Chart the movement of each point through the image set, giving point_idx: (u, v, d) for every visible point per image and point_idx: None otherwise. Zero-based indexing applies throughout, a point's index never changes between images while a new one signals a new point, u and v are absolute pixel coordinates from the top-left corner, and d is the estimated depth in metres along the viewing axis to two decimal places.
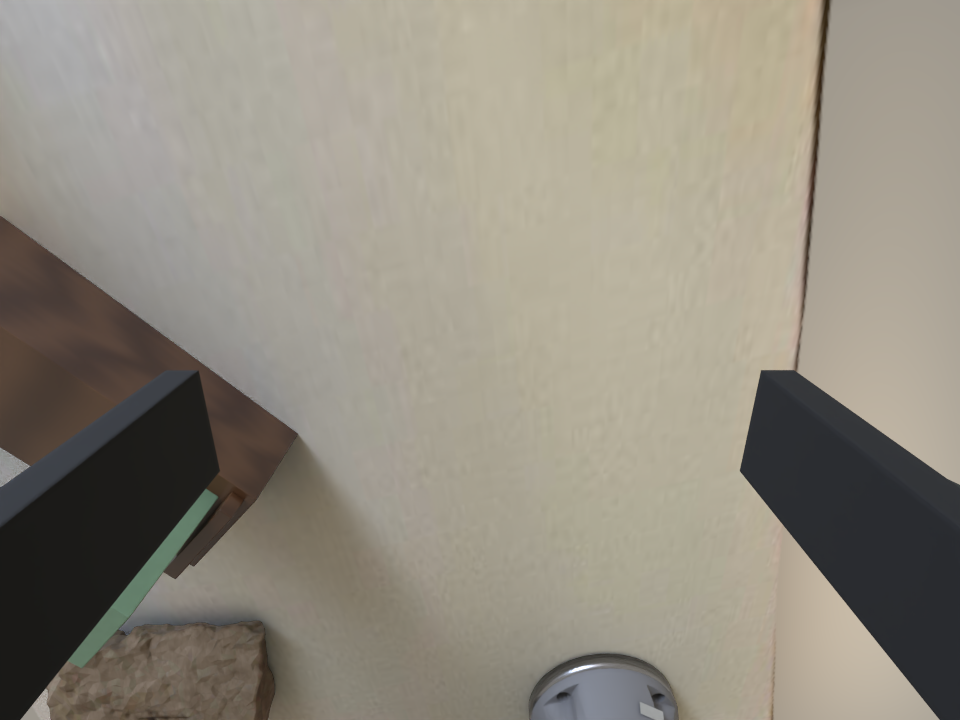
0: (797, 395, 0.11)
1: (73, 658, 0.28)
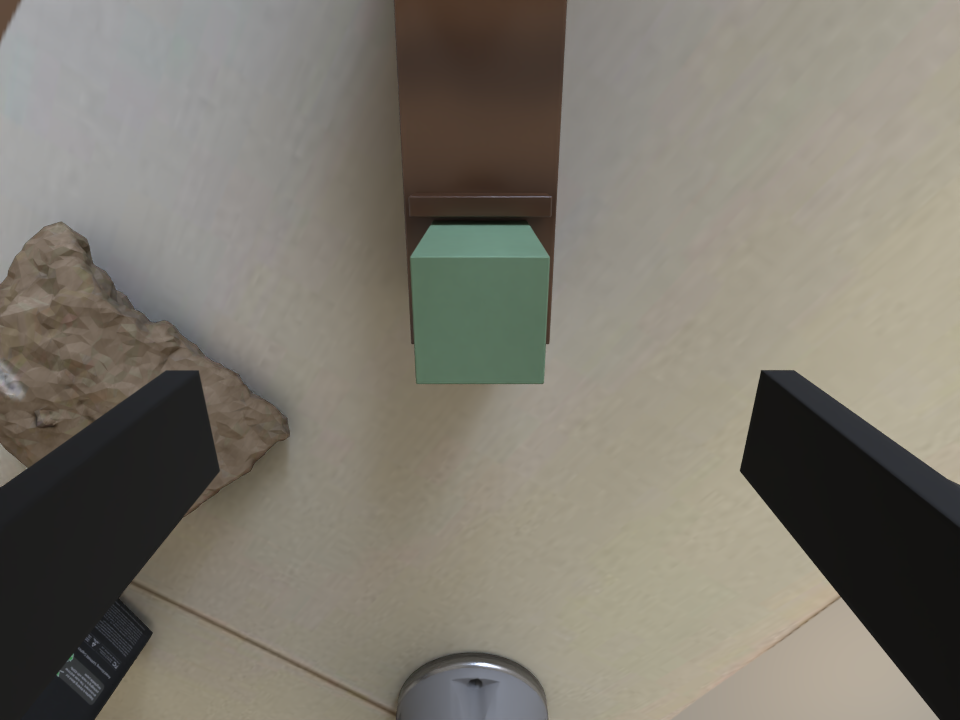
0: (797, 395, 0.11)
1: (426, 368, 0.21)
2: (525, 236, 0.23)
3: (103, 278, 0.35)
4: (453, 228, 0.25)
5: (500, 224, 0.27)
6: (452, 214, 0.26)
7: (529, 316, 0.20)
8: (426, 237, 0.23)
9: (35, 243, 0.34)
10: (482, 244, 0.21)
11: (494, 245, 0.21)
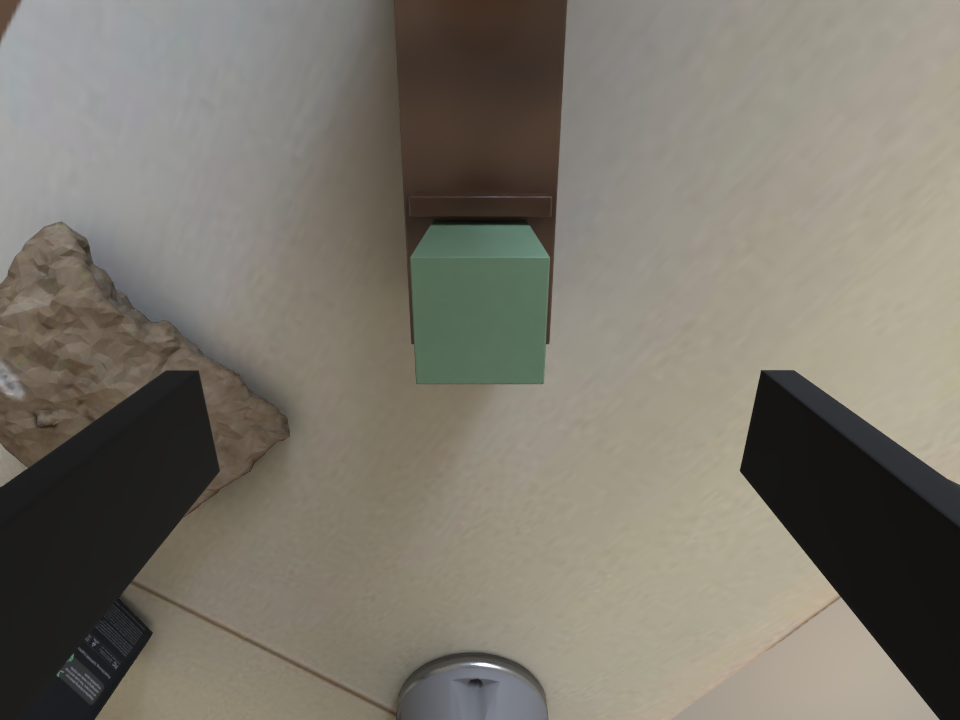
0: (797, 395, 0.11)
1: (426, 368, 0.21)
2: (525, 236, 0.23)
3: (103, 278, 0.35)
4: (453, 228, 0.25)
5: (500, 224, 0.27)
6: (452, 214, 0.26)
7: (529, 316, 0.20)
8: (426, 237, 0.23)
9: (35, 243, 0.34)
10: (482, 244, 0.21)
11: (494, 245, 0.21)
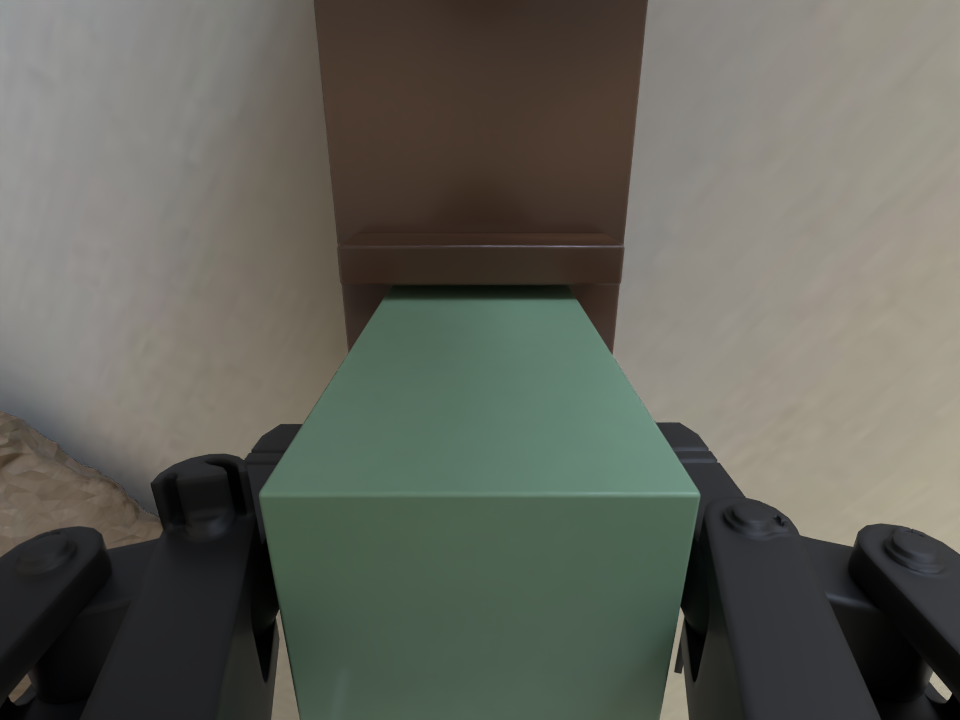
0: None
1: None
2: (583, 349, 0.10)
3: None
4: (425, 313, 0.12)
5: (519, 297, 0.14)
6: (425, 280, 0.13)
7: (623, 640, 0.07)
8: (356, 355, 0.10)
9: None
10: (486, 396, 0.08)
11: (517, 402, 0.08)
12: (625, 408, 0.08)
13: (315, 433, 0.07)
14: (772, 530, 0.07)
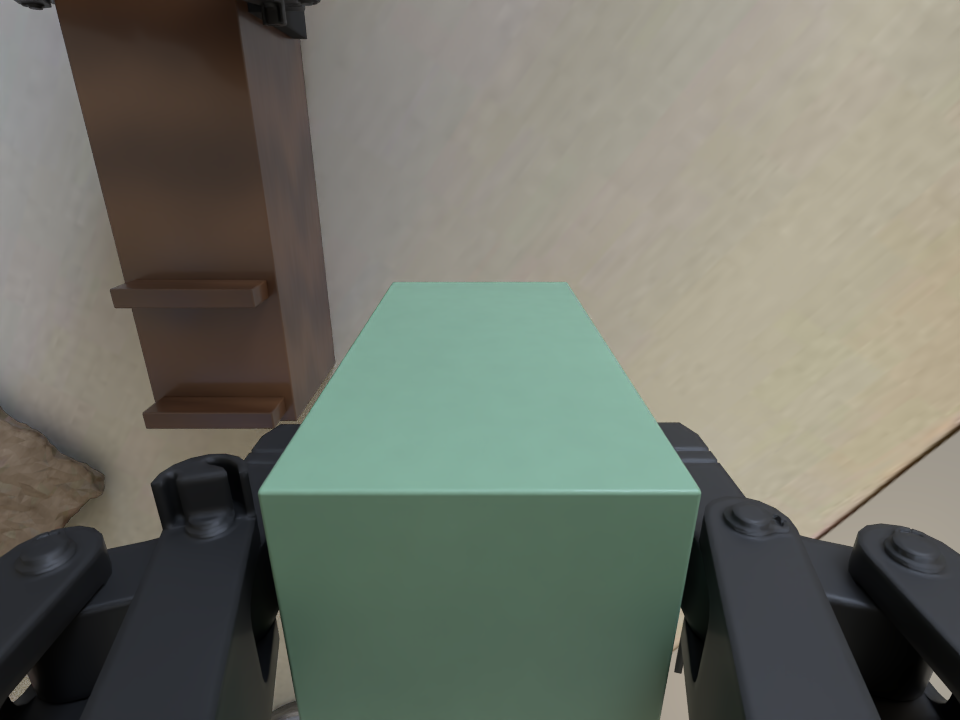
0: None
1: None
2: (583, 348, 0.10)
3: None
4: (425, 312, 0.12)
5: (519, 296, 0.14)
6: (156, 305, 0.26)
7: (624, 638, 0.07)
8: (355, 353, 0.10)
9: None
10: (486, 394, 0.08)
11: (517, 400, 0.08)
12: (626, 406, 0.08)
13: (315, 431, 0.07)
14: (772, 530, 0.07)
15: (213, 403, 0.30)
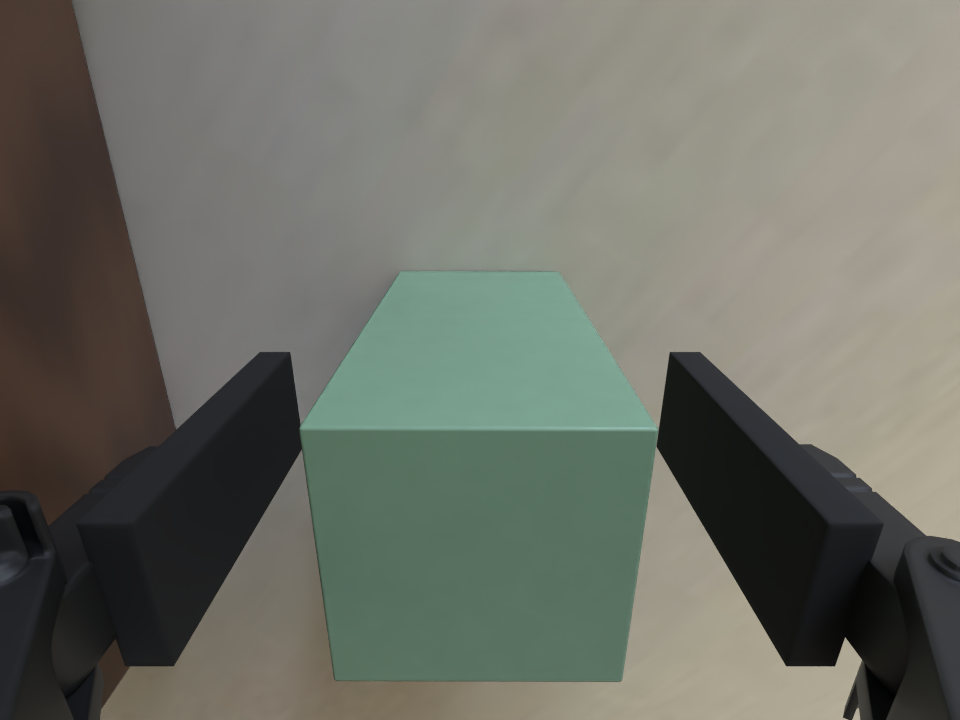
0: (692, 372, 0.12)
1: (354, 653, 0.09)
2: (570, 325, 0.12)
3: None
4: (430, 296, 0.14)
5: (516, 283, 0.15)
6: None
7: (597, 555, 0.08)
8: (370, 329, 0.11)
9: None
10: (484, 360, 0.10)
11: (511, 364, 0.09)
12: (603, 369, 0.09)
13: (341, 386, 0.09)
14: None
15: None
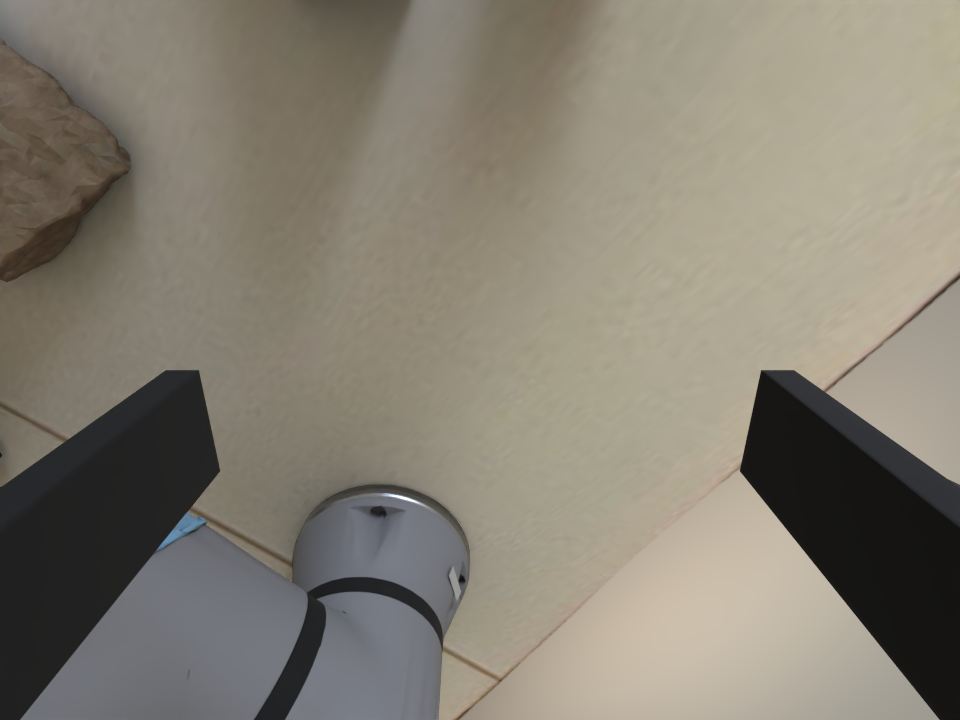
0: (797, 395, 0.11)
1: None
2: None
3: None
4: None
5: None
6: None
7: None
8: None
9: None
10: None
11: None
12: None
13: None
14: None
15: None
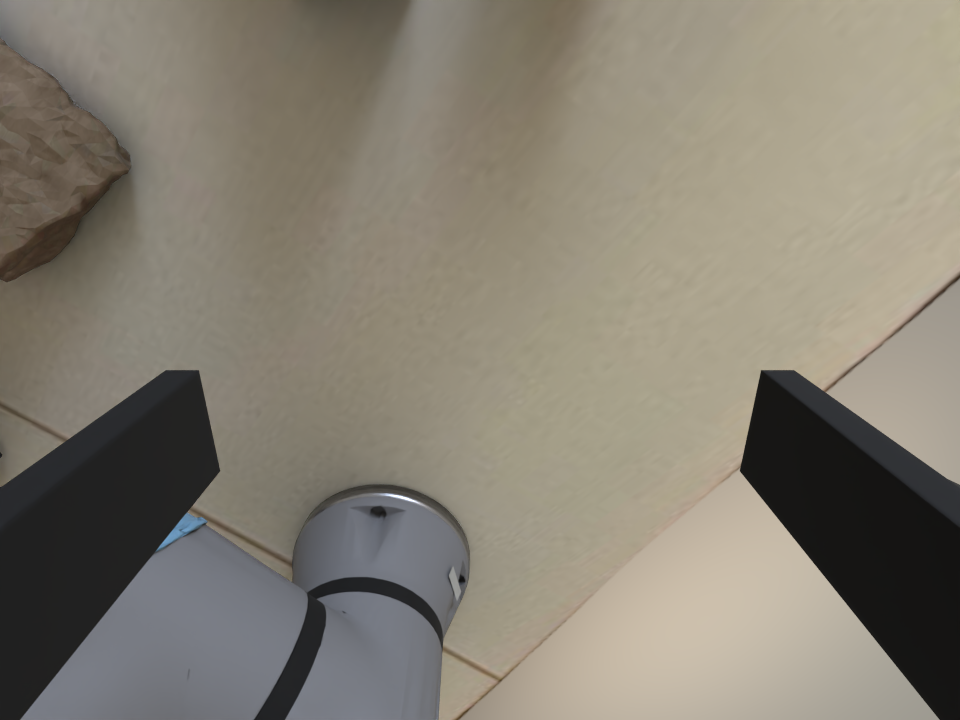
0: (797, 395, 0.11)
1: None
2: None
3: None
4: None
5: None
6: None
7: None
8: None
9: None
10: None
11: None
12: None
13: None
14: None
15: None
